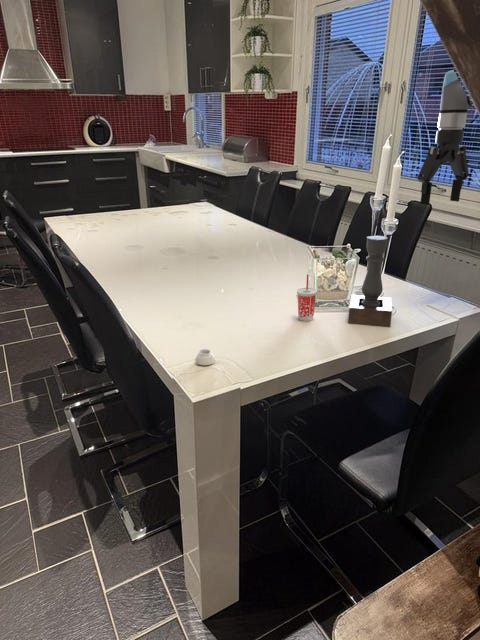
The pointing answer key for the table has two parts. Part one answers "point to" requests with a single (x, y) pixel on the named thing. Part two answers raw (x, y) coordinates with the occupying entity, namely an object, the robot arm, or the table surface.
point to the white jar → (205, 357)
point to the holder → (370, 312)
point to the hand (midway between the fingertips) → (439, 202)
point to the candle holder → (374, 271)
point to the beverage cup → (306, 302)
